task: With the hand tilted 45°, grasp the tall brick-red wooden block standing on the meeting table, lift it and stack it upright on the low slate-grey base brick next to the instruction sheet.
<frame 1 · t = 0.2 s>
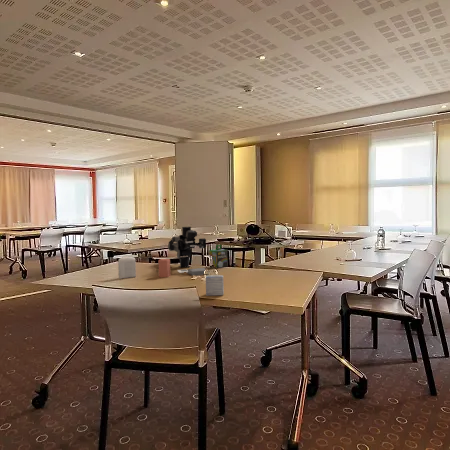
hand: (196, 245, 237), 17 cm above the table, tool horizontal, fingers open, 9 cm apart
base brick: (198, 273, 233), on the table
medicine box: (215, 295, 176), on the table
red block: (164, 276, 227), on the table
instruction sheet: (189, 270, 244), on the table
photo printer: (127, 277, 226), on the table
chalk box: (218, 267, 258), on the table
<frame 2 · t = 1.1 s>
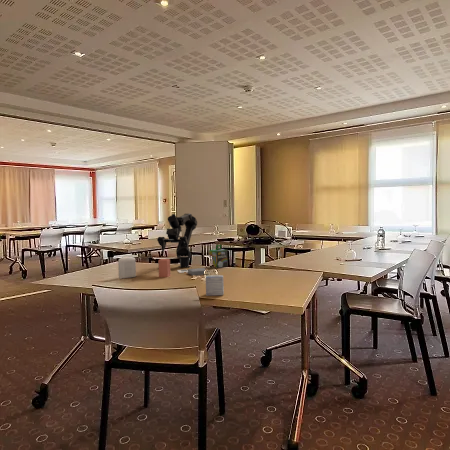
hand: (169, 251, 234), 14 cm above the table, tool tilted 45°, fingers open, 9 cm apart
nothing on the table moved.
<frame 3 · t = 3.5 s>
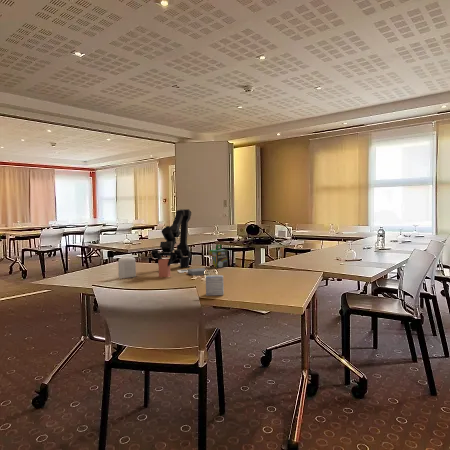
hand: (163, 265, 225), 7 cm above the table, tool tilted 45°, fingers closed on red block, 5 cm apart
red block: (164, 276, 227), on the table, touching gripper
everything else where it was.
when the fingers open (10 cm above the table, at t = 7.6 s): red block stays where it is, resting on base brick.
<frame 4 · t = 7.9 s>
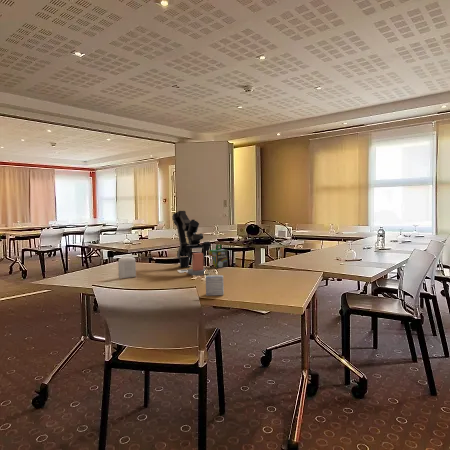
hand: (198, 257, 231), 10 cm above the table, tool tilted 45°, fingers open, 8 cm apart
red block: (198, 269, 233), point 2 cm above the table, touching base brick
everything else where it was.
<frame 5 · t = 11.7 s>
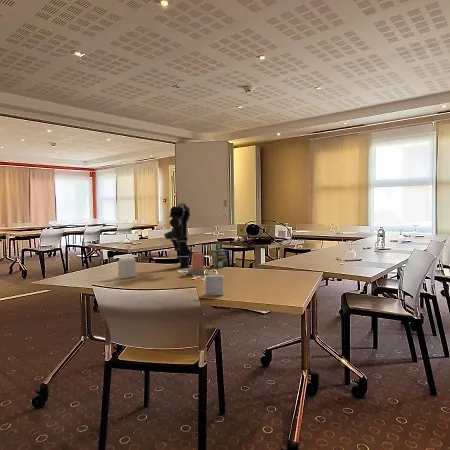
hand: (178, 251, 239), 13 cm above the table, tool pointing down, fingers open, 9 cm apart
nothing on the table moved.
at the end: red block inside the target area on the base brick (0.0 cm from its centre), point 2.5 cm above the base brick's base; red block tilted 0°; the gripper is holding nothing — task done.
